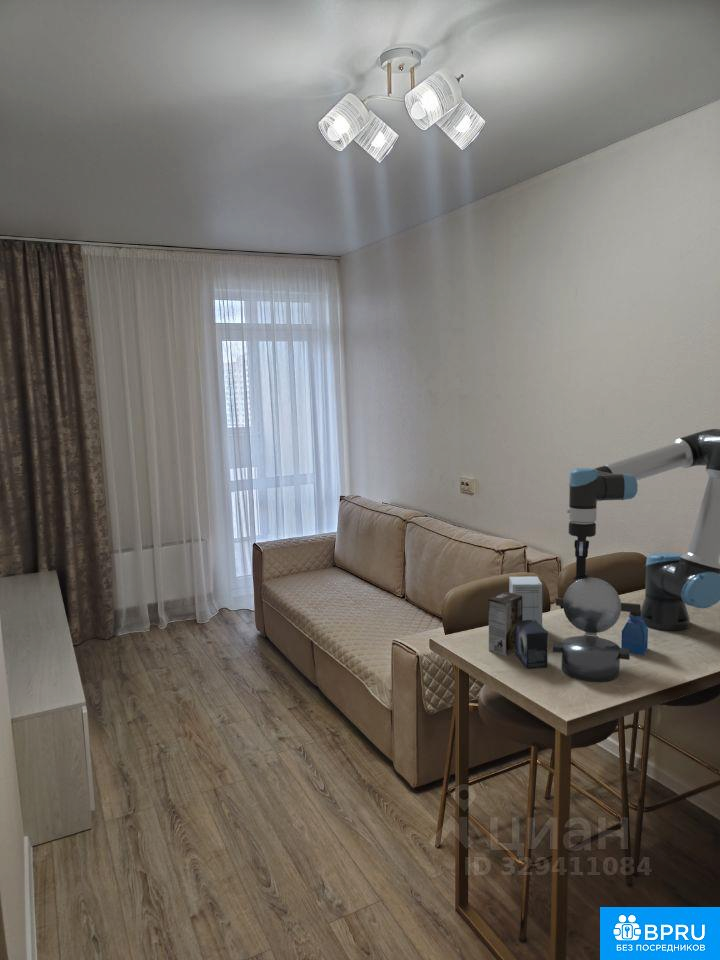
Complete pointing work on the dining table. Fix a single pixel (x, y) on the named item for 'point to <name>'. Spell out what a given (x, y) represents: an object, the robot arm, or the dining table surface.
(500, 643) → the coffee box
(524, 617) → the supplement box
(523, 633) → the small box
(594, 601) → the lid
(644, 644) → the perfume bottle
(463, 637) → the dining table surface
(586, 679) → the pot
